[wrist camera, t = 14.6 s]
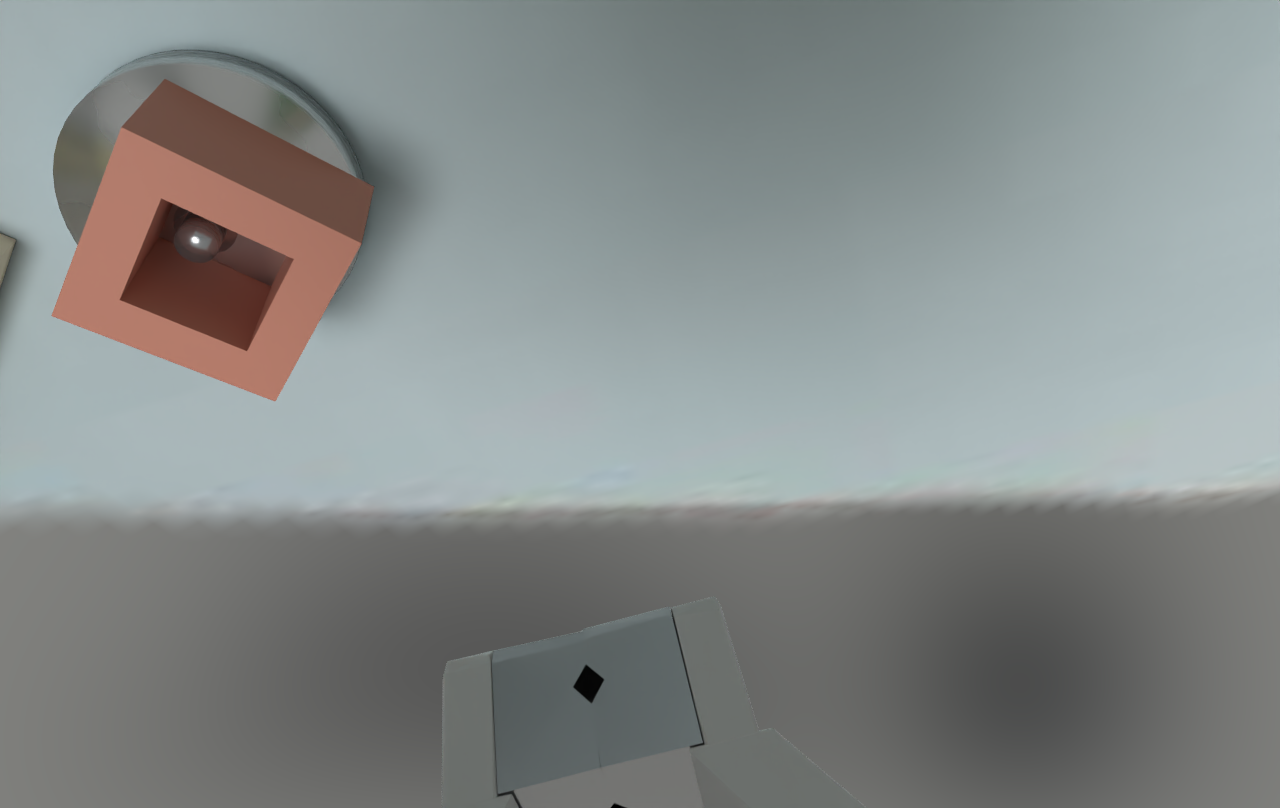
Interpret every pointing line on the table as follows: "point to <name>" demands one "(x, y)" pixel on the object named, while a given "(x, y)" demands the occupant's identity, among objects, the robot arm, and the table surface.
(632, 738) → the robot arm
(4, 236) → the stand
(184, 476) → the table surface
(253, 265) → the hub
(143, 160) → the brown square ring block
